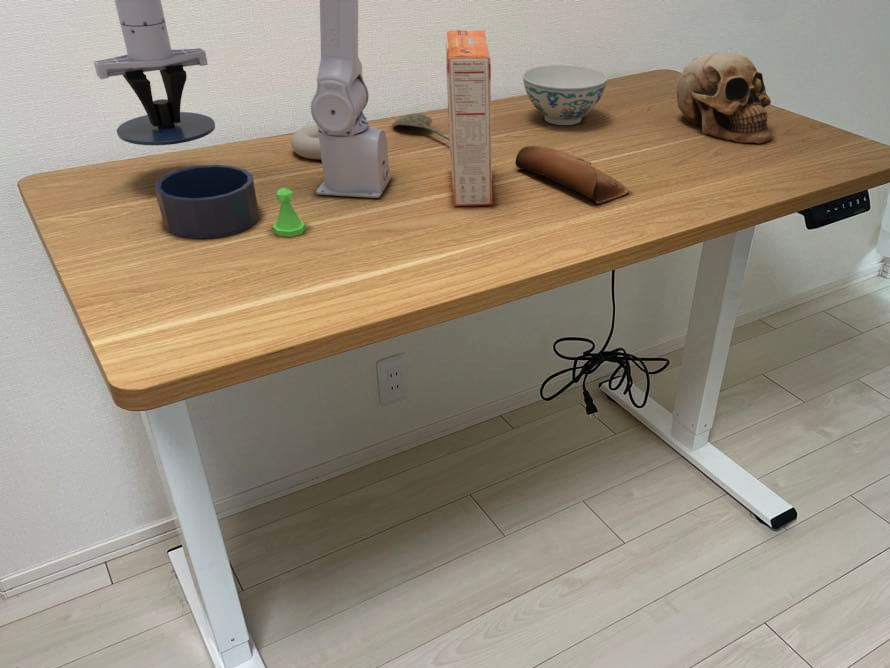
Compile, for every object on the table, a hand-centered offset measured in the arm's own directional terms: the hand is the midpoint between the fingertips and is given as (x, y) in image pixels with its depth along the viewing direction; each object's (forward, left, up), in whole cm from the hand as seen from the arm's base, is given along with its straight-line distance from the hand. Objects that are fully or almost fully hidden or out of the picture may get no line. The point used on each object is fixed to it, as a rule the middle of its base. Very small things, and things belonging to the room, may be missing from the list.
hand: (165, 122), depth 122 cm
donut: (-18, -15, -9) cm, 25 cm away
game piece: (-22, +15, -9) cm, 28 cm away
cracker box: (-44, -3, -9) cm, 45 cm away
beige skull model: (-85, -38, -9) cm, 93 cm away
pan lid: (0, 0, -1) cm, 1 cm away
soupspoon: (-35, -23, -9) cm, 43 cm away
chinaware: (-56, -38, -9) cm, 68 cm away
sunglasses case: (-59, -8, -9) cm, 60 cm away
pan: (-10, +13, -9) cm, 19 cm away
